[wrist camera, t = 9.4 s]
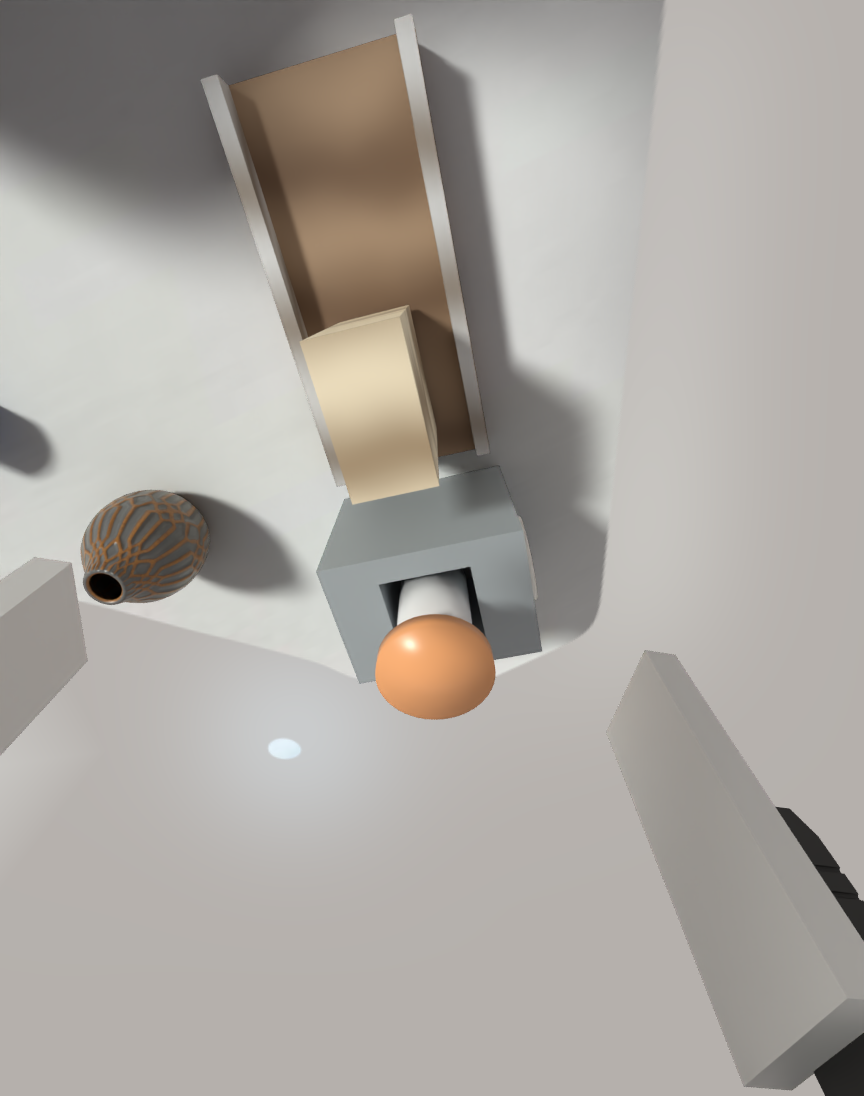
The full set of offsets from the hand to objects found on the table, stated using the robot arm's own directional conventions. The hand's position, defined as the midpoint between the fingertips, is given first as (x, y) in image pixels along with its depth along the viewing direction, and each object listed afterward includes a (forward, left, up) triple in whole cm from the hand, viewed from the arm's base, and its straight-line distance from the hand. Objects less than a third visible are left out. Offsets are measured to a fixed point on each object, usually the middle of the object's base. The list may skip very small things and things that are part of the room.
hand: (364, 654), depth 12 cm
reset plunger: (+9, 0, -17) cm, 19 cm away
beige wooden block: (-3, 0, -22) cm, 22 cm away
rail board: (-7, 0, -24) cm, 25 cm away
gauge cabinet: (+9, 0, -24) cm, 25 cm away
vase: (+4, -18, -24) cm, 30 cm away
